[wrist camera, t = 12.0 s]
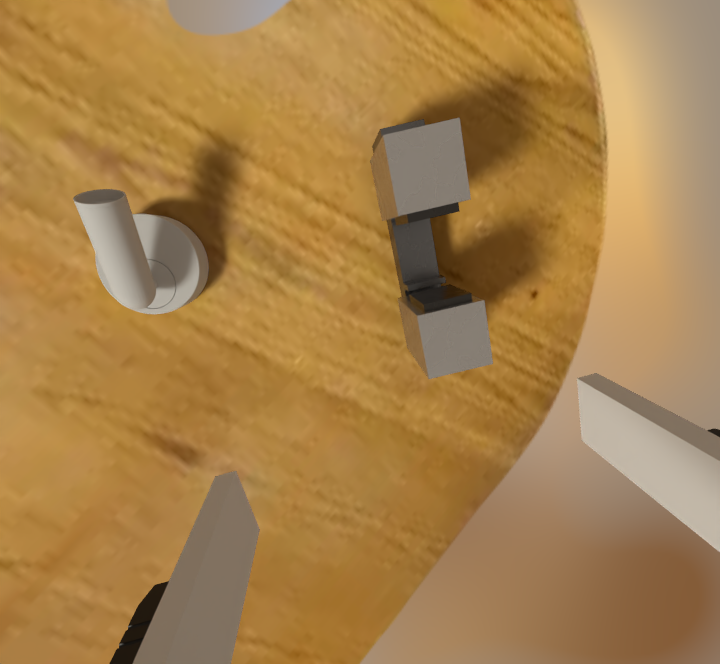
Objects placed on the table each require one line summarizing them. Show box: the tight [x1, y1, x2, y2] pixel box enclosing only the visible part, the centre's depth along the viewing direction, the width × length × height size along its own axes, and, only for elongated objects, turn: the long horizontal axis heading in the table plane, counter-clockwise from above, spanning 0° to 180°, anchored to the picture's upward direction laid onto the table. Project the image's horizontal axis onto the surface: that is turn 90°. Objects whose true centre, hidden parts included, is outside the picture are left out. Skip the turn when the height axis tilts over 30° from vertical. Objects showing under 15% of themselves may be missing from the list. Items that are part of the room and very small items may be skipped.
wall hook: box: [73, 189, 209, 314], centre depth 29 cm, size 9×10×10 cm
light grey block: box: [398, 285, 493, 379], centre depth 31 cm, size 6×5×8 cm
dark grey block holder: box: [370, 118, 471, 297], centre depth 30 cm, size 20×5×10 cm, turn 13°
